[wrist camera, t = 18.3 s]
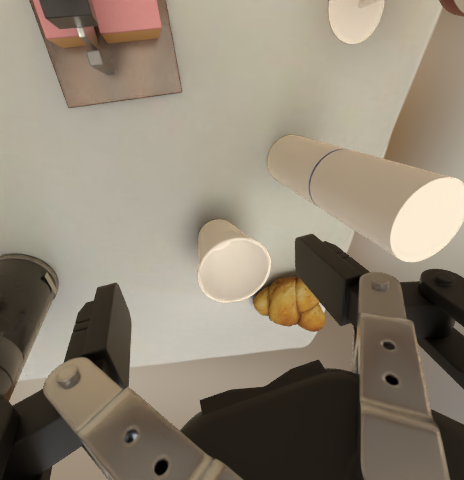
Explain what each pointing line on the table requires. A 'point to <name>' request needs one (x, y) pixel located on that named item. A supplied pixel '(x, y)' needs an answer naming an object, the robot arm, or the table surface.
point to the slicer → (116, 67)
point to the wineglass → (367, 17)
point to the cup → (230, 262)
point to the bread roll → (290, 304)
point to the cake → (110, 22)
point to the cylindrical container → (373, 195)
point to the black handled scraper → (73, 17)
